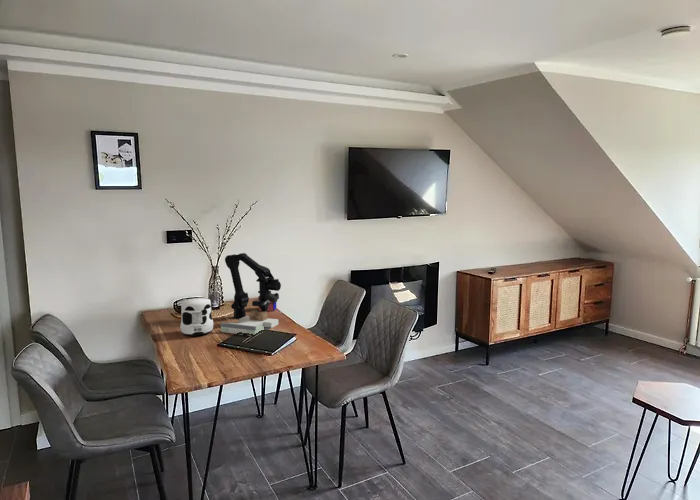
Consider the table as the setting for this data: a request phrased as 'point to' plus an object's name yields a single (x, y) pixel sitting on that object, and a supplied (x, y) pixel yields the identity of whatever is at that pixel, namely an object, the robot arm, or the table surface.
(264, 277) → the robot arm
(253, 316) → the walnut block
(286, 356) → the table surface
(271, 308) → the puzzle cube
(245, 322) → the board
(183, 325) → the milk container
